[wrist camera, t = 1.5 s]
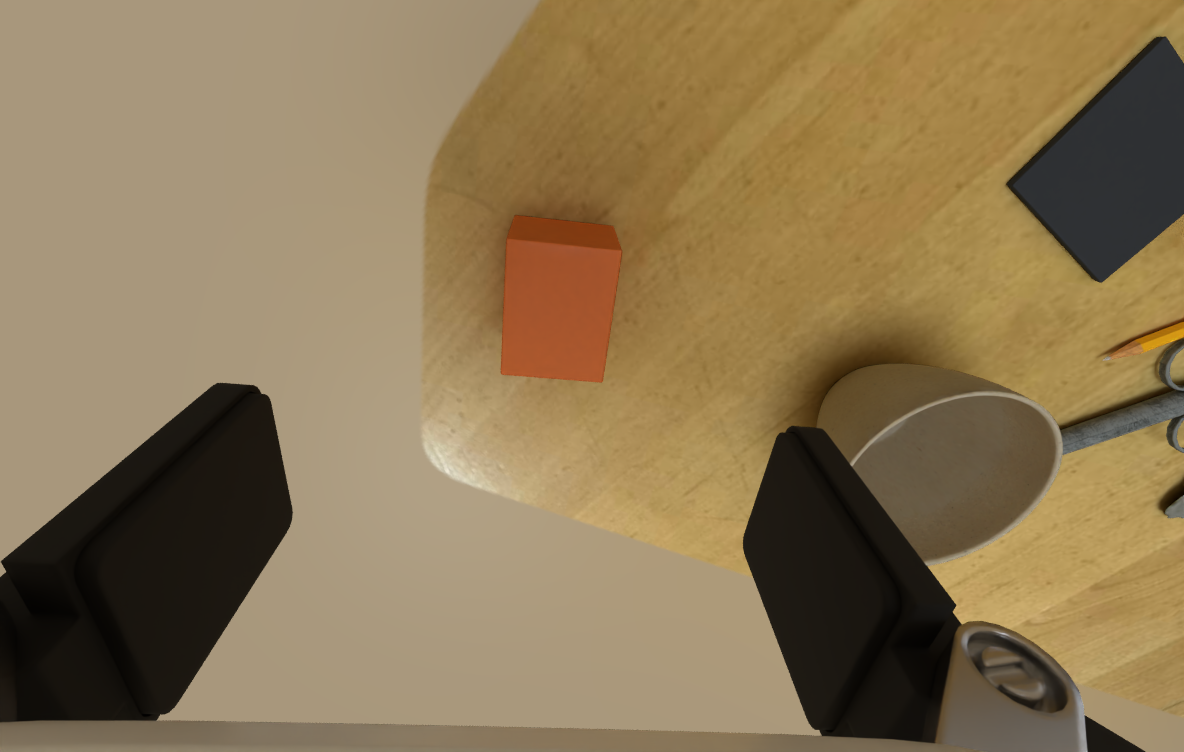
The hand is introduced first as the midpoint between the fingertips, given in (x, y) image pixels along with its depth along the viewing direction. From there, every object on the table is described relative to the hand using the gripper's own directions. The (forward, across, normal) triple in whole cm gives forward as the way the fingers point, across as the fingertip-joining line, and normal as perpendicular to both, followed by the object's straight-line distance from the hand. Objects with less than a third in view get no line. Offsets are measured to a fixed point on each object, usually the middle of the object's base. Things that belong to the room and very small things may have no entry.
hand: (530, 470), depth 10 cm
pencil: (+17, -34, +1) cm, 38 cm away
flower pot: (+17, -18, +7) cm, 26 cm away
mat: (+17, -25, -6) cm, 31 cm away
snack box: (+16, 0, +2) cm, 17 cm away
